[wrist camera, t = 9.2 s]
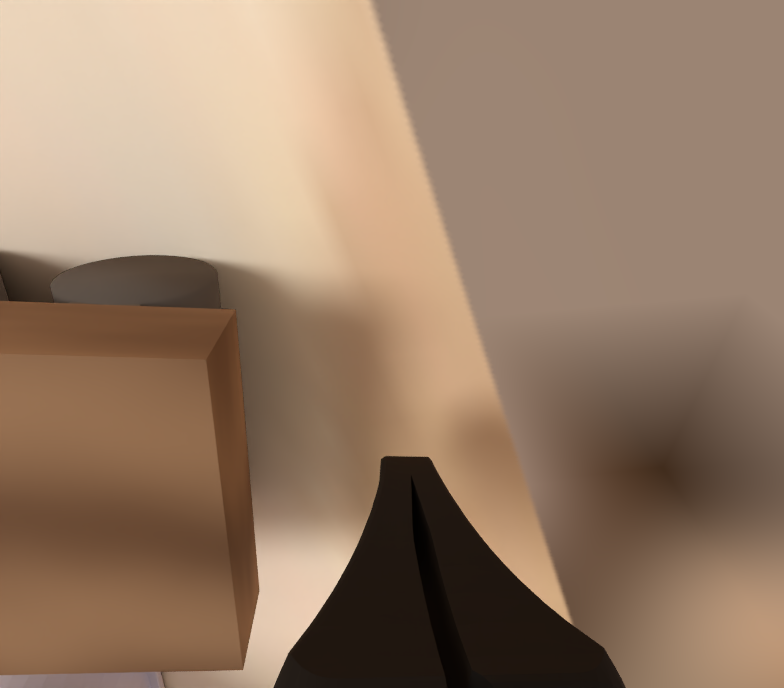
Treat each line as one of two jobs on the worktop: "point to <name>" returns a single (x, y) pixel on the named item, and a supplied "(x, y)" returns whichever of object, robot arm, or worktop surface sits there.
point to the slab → (123, 491)
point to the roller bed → (138, 283)
